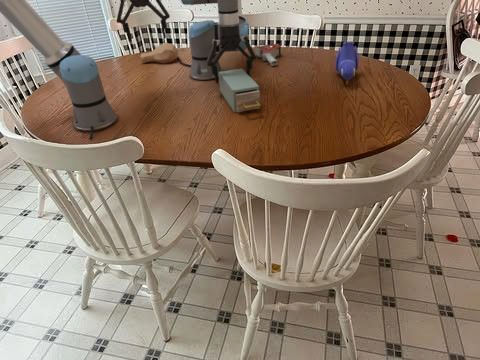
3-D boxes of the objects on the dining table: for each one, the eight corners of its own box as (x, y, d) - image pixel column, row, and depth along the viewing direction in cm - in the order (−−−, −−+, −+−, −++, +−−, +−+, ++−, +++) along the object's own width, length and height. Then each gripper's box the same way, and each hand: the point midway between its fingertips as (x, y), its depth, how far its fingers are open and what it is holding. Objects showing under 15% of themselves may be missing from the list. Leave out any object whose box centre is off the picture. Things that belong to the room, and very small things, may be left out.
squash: (179, 63, 185) (174, 47, 178) (142, 70, 187) (136, 55, 180) (180, 53, 192) (175, 37, 186) (145, 60, 194) (139, 45, 188)
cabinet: (259, 107, 136) (258, 86, 131) (234, 112, 134) (232, 90, 129) (242, 88, 153) (241, 68, 148) (220, 91, 151) (218, 71, 146)
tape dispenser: (274, 70, 173) (292, 55, 185) (274, 59, 169) (292, 45, 182) (243, 64, 180) (262, 50, 193) (243, 53, 177) (262, 40, 189)
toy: (333, 78, 167) (335, 88, 145) (335, 40, 160) (337, 44, 138) (355, 78, 165) (360, 87, 142) (358, 39, 158) (364, 43, 136)
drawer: (264, 113, 130) (264, 96, 126) (241, 118, 128) (240, 100, 124) (244, 89, 149) (243, 73, 145) (223, 92, 148) (222, 77, 144)
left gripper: (169, -25, 134) (178, 34, 146) (102, -20, 132) (117, 39, 144) (169, -23, 128) (178, 38, 140) (99, -17, 126) (114, 44, 138)
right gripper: (257, 18, 139) (258, 72, 152) (194, 26, 134) (201, 81, 146) (263, 22, 133) (264, 77, 146) (198, 30, 128) (205, 87, 141)
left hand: (147, 39), depth 142 cm, fingers open, 13 cm apart
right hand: (232, 79), depth 146 cm, fingers open, 13 cm apart
